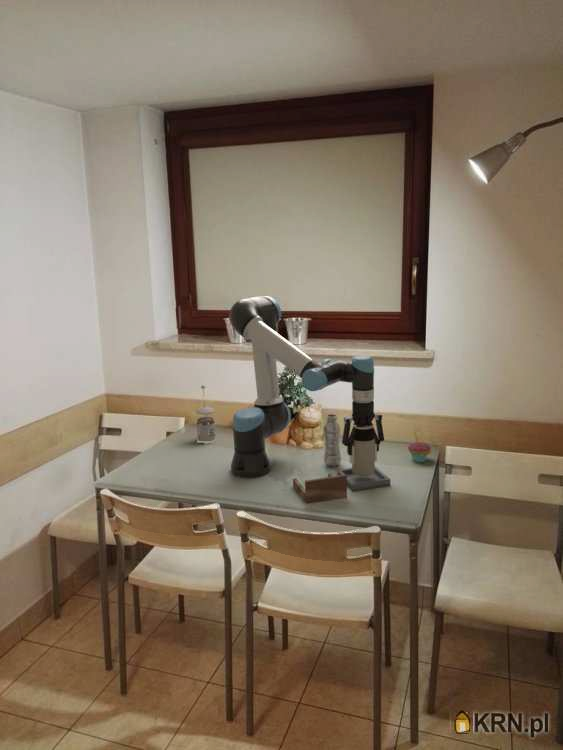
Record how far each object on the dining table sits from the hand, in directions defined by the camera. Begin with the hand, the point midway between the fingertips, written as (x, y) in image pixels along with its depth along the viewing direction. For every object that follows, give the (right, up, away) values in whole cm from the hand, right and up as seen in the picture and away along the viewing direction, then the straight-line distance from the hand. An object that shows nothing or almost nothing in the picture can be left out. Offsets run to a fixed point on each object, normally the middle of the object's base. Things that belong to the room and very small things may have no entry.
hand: (363, 461), depth 220 cm
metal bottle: (-10, -4, +17) cm, 20 cm away
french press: (-62, +2, +51) cm, 80 cm away
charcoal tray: (0, -7, +2) cm, 7 cm away
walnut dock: (-16, -10, -7) cm, 20 cm away
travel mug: (0, -4, +1) cm, 4 cm away
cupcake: (+25, -2, +20) cm, 32 cm away
